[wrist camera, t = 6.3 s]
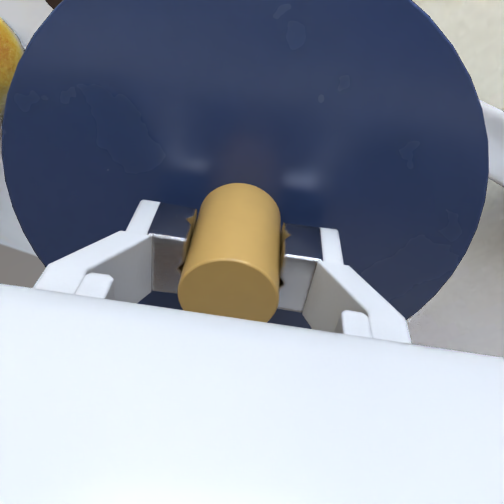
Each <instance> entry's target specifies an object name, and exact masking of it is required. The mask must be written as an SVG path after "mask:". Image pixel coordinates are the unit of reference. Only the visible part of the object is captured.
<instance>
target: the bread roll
mask: <svg viewBox="0 0 504 504" xmlns="http://www.w3.org/2000/svg"><path fill="white" fill-rule="evenodd" d="M23 53H24V50H23V47H22V45H21V43H20V41H19V39H18V37H17V36H16V34H15V33H14V32H13V30H12V29H11V28H10V27H9V26H8V25H7V24H6V23H5V22H4V21H3V20H2V18H1V17H0V119H1V118H3V116H4V110H5V104H6V98H7V93H8V90H9V87H10V84H11V81H12V79H13V76H14V73H15V70H16V67H17V64H18V62H19V60H20V58H21V57H22V55H23Z"/></svg>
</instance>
